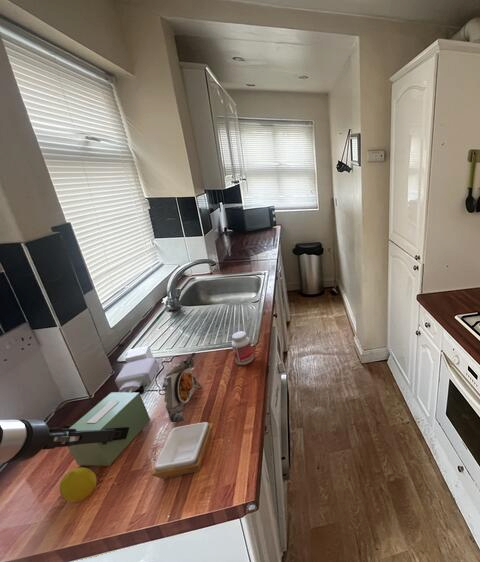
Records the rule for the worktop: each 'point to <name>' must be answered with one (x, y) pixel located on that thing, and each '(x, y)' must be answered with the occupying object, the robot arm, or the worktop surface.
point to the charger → (136, 374)
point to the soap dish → (183, 450)
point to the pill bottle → (242, 348)
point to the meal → (179, 388)
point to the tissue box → (110, 414)
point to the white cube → (138, 354)
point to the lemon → (78, 484)
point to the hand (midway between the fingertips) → (110, 432)
